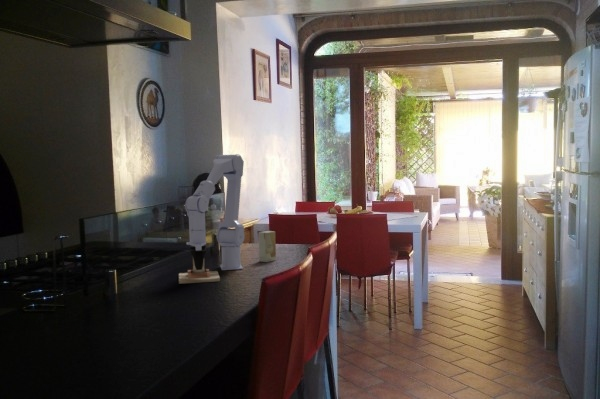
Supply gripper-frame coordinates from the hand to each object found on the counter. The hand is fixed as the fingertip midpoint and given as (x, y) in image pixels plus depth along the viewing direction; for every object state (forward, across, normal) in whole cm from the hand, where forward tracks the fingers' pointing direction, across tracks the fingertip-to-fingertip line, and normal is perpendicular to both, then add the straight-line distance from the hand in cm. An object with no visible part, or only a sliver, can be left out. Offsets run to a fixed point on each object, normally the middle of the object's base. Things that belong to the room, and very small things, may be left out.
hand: (198, 267), depth 208 cm
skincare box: (+4, -28, +29) cm, 41 cm away
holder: (+4, 0, 0) cm, 4 cm away
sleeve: (+3, 0, 0) cm, 3 cm away
